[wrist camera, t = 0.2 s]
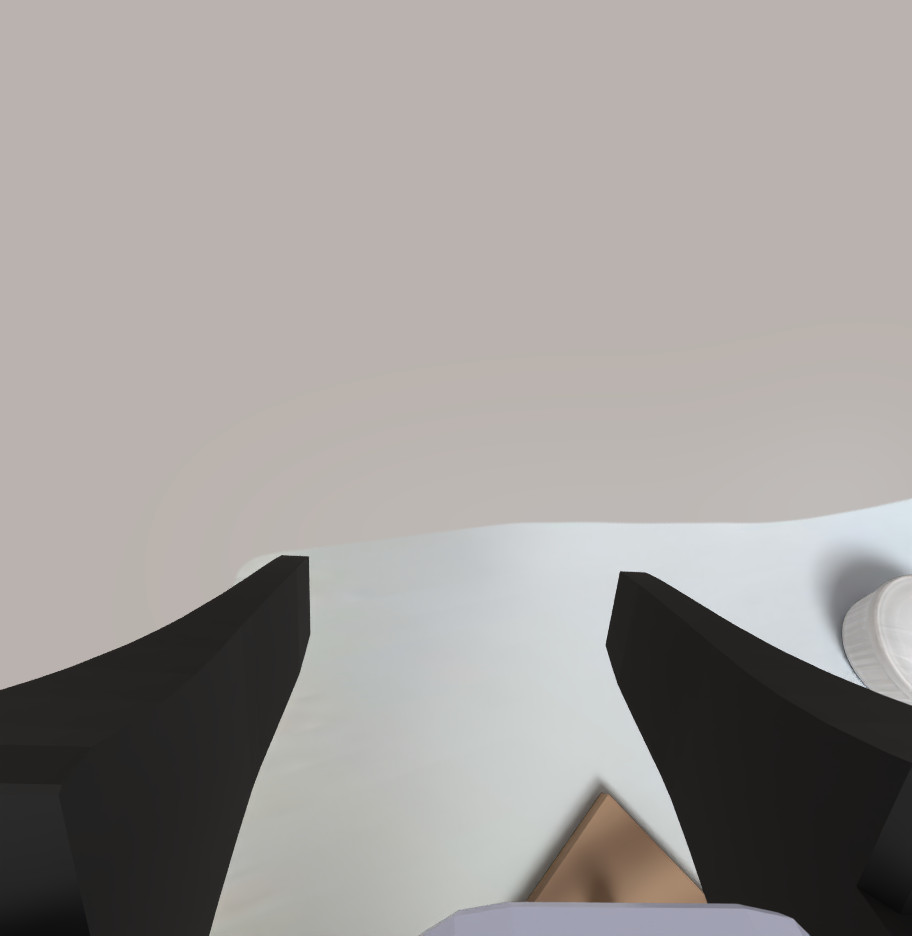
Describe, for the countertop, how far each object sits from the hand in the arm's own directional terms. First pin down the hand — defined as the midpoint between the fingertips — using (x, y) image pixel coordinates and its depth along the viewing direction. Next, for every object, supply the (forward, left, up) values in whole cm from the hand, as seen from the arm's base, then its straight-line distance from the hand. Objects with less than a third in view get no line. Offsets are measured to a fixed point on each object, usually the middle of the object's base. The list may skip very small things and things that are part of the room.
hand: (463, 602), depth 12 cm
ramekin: (+4, -41, -32) cm, 52 cm away
